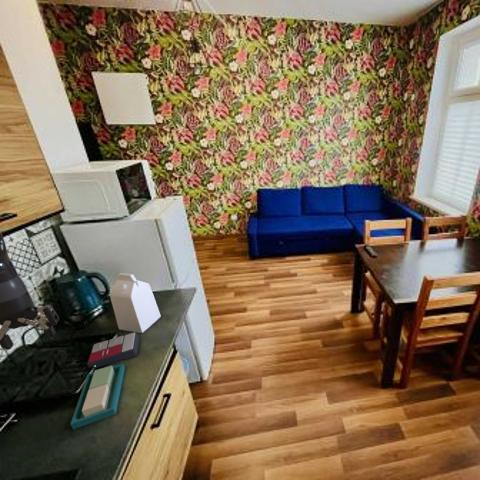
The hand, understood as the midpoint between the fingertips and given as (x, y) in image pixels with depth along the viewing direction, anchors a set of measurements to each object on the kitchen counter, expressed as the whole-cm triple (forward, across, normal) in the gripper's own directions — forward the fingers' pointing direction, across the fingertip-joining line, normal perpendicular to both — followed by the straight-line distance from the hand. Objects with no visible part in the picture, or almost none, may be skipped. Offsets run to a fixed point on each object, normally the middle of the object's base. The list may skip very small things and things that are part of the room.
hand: (31, 342), depth 75 cm
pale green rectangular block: (+28, +9, +5) cm, 29 cm away
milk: (+28, +17, +38) cm, 50 cm away
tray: (+28, +9, +1) cm, 29 cm away
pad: (+28, +9, -3) cm, 29 cm away
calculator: (+28, +10, +21) cm, 37 cm away
